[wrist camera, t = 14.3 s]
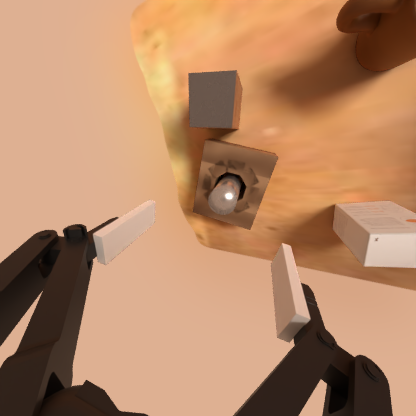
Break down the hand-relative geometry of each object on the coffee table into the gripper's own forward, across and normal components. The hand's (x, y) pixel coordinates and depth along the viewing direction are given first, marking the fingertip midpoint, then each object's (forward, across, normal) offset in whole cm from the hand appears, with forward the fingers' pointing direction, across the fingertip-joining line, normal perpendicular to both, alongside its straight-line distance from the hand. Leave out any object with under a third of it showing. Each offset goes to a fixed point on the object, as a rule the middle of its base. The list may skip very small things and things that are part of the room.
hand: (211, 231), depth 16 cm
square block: (+20, -6, +12) cm, 23 cm away
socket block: (+20, -1, 0) cm, 20 cm away
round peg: (+20, -1, 0) cm, 20 cm away
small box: (+20, +23, 0) cm, 31 cm away
